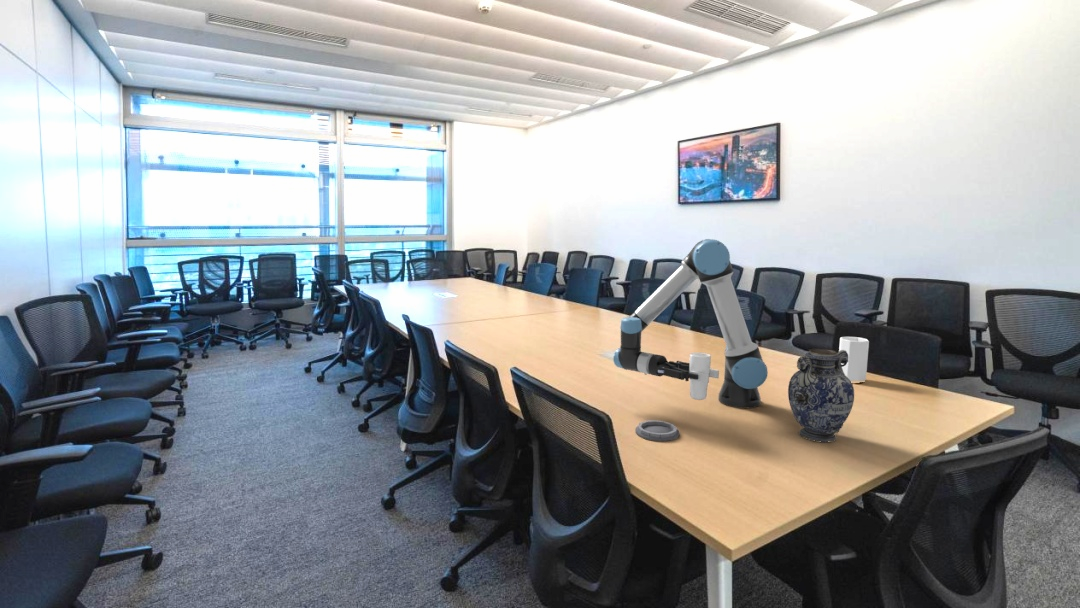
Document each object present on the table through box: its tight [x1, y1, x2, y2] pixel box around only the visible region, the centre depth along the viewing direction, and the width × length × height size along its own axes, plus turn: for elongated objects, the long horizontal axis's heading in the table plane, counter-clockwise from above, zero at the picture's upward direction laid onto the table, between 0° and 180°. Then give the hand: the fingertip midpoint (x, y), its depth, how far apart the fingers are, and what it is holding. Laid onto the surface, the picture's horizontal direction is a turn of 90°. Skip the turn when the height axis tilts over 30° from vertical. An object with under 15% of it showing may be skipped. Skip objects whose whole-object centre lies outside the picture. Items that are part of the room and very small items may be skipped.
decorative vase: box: [787, 348, 855, 443], centre depth 169 cm, size 21×19×28 cm
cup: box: [838, 336, 870, 381], centre depth 232 cm, size 11×11×18 cm
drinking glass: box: [688, 352, 712, 401], centre depth 178 cm, size 7×7×15 cm
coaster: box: [635, 419, 680, 442], centre depth 173 cm, size 14×14×2 cm
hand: (713, 376), depth 175 cm, fingers closed on drinking glass, 6 cm apart
